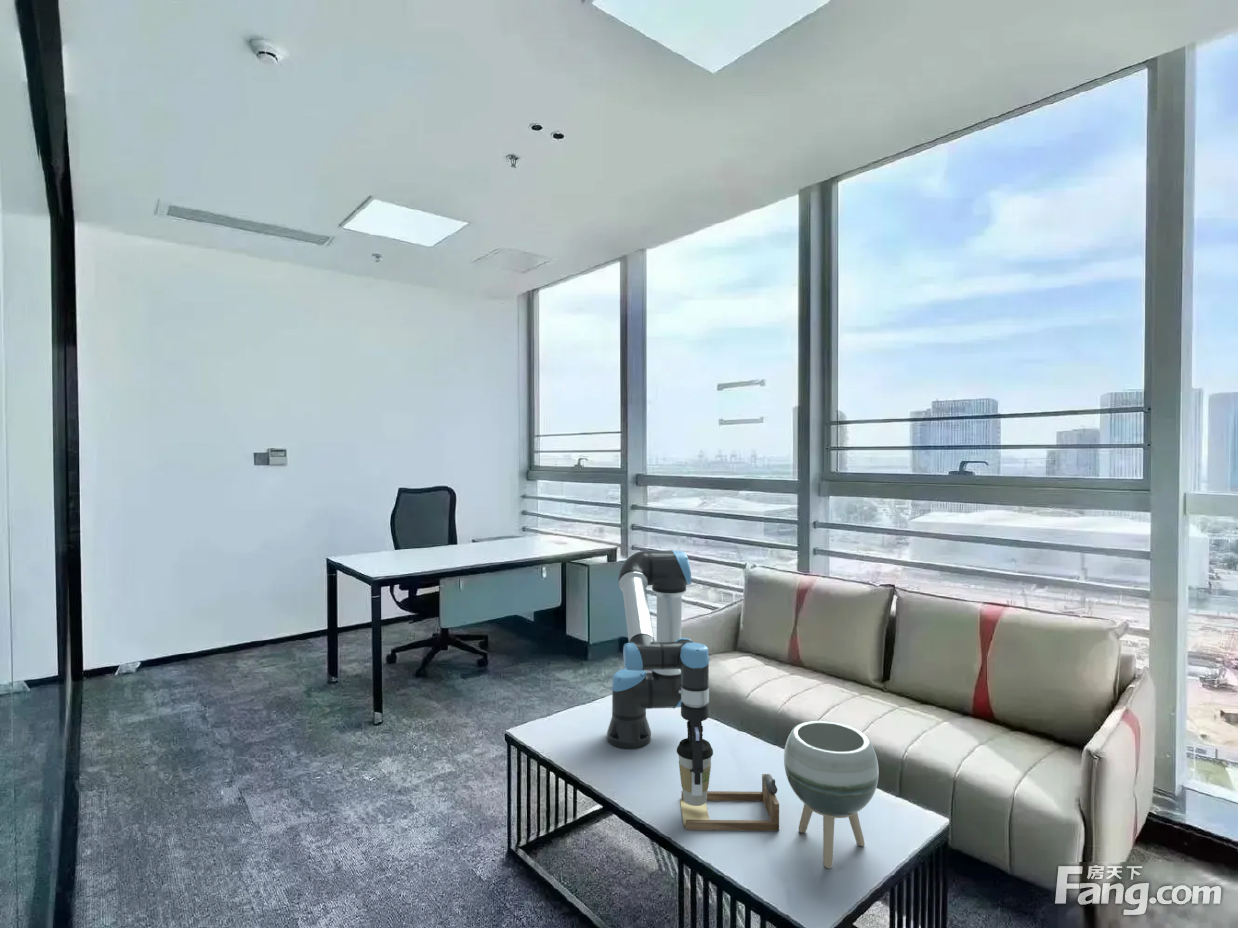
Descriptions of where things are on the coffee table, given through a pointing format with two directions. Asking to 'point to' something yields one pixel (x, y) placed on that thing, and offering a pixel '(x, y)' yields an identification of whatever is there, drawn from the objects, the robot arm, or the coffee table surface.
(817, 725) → the planter
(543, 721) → the coffee table surface
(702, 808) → the bay
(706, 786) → the coffee cup
